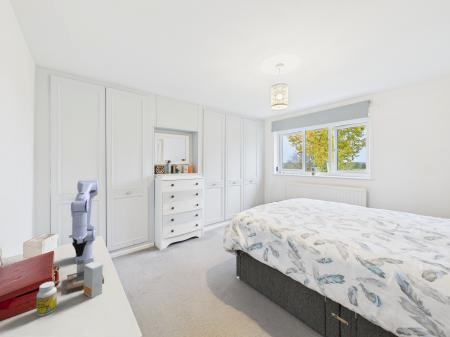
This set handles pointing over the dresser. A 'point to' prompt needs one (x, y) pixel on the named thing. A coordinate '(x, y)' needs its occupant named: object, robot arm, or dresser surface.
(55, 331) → the dresser surface
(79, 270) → the housing
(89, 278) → the skincare box
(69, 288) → the walnut stand
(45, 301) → the supplement bottle
